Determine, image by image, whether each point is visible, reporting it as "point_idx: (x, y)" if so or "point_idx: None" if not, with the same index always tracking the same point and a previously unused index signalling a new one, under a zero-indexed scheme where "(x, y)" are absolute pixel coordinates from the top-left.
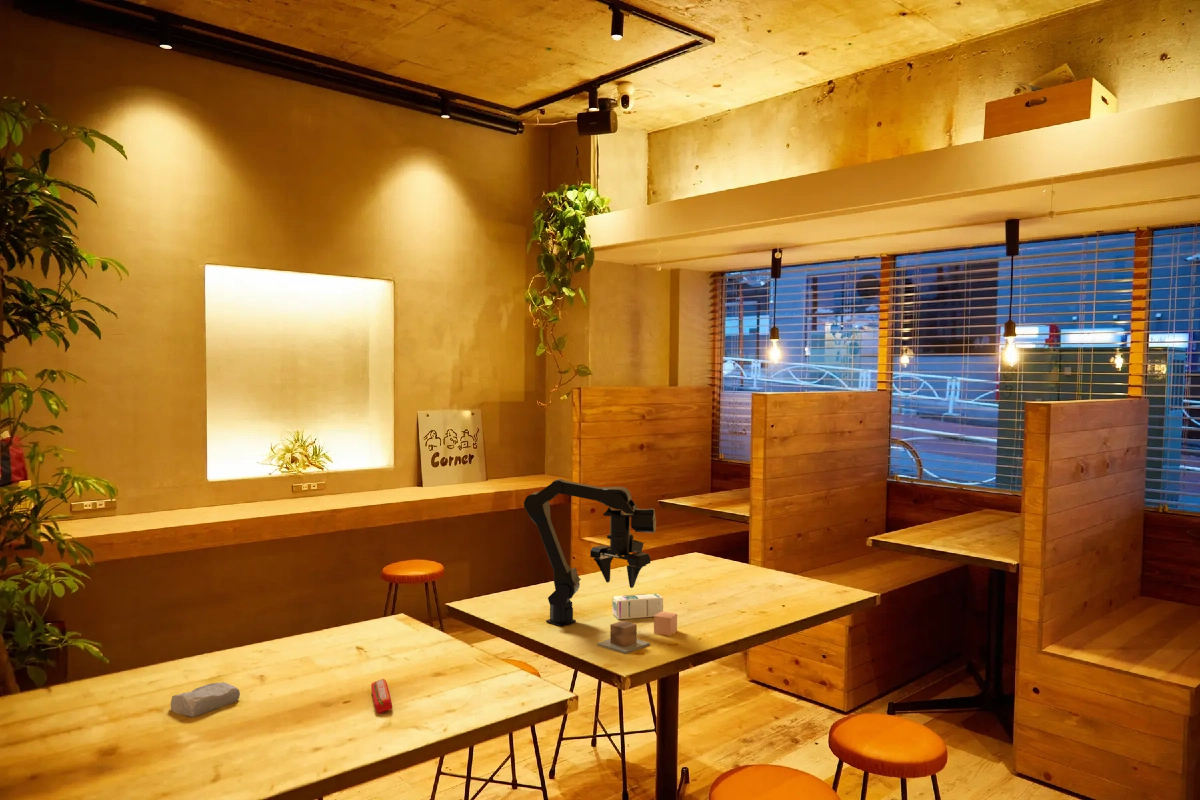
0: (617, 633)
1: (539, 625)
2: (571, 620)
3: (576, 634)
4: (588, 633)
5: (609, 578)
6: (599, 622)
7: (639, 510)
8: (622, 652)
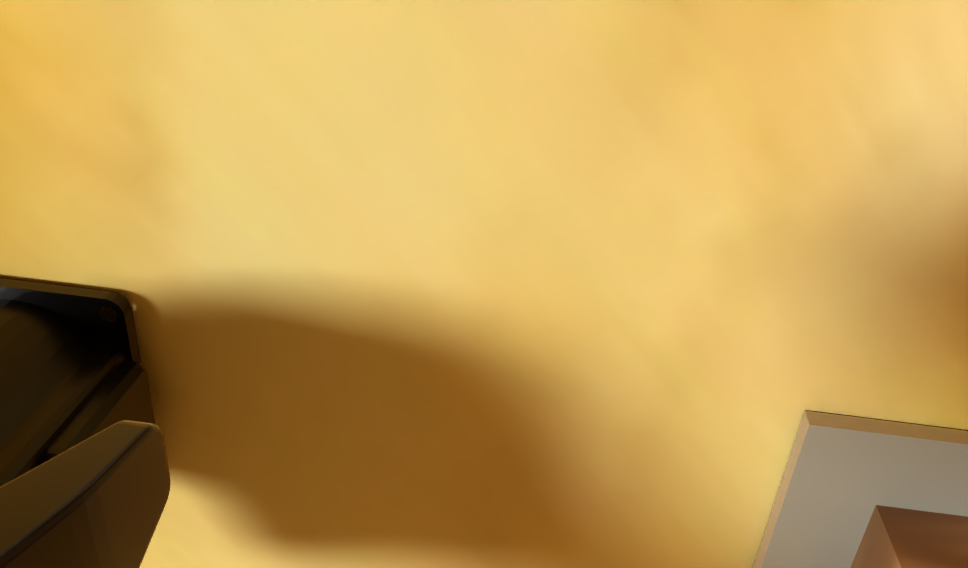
0: None
1: None
2: (142, 393)
3: (409, 538)
4: (470, 476)
5: (112, 493)
6: (300, 157)
7: None
8: None
